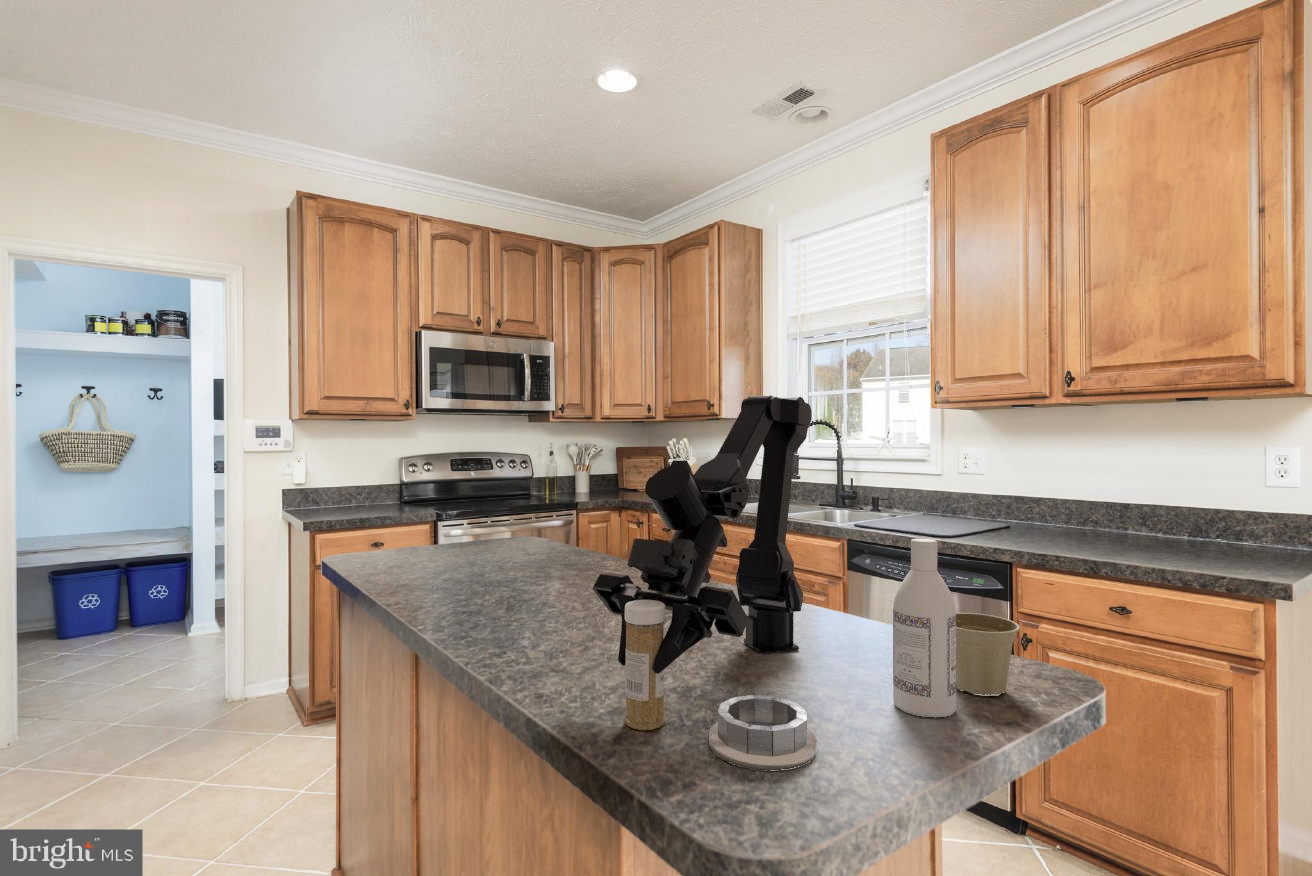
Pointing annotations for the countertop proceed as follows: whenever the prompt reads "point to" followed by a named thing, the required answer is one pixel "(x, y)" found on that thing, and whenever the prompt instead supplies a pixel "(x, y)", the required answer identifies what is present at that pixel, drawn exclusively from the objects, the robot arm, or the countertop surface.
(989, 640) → the flower pot
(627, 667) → the sprinkles bottle
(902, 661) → the bath foam
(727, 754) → the socket
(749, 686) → the countertop surface
